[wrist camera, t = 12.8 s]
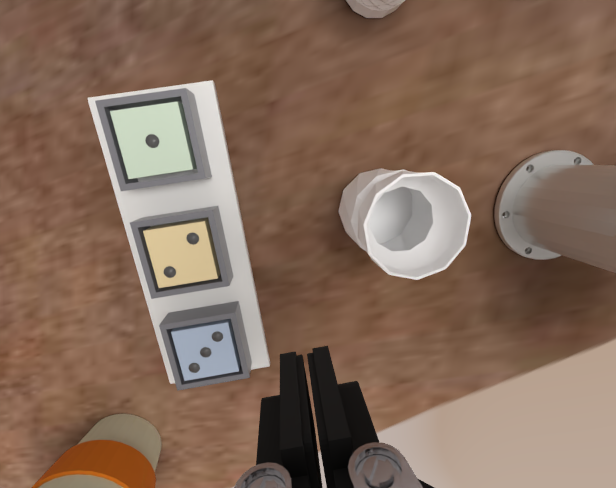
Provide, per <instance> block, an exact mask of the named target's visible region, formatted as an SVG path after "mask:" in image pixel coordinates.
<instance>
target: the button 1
mask: <svg viewBox="0 0 616 488" xmlns="http://www.w3.org/2000/svg"><path fill="white" fill-rule="evenodd" d="M110 114H111V117H112V121H113V124H114V128H115V132H116V135H117V139H118V143H119V146H120V150H121V153H122V157H123V161H124V164H125V168H126V171H127V175H128V179H134V178H141V177H148V176H155V175H161V174H168V173H175V172H181V171H188V170H194V169H197V166H196V161H195V157H194V152H193V148H192V143H191V139H190V134H189V130H188V126H187V121H186V117H185V112H184V108H183V104H181V103H179V102H171V103H164V104H157V105H149V106H142V107H135V108H128V109H121V110H114V111H110Z"/></svg>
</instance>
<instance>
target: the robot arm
mask: <svg viewBox="0 0 616 488" xmlns="http://www.w3.org/2000/svg"><path fill="white" fill-rule="evenodd" d="M494 218H495V224H496V228H497V231H498V234H499V236H500V238H501V239H502V241H503V242H504V244H505V245H506V246H507V247H508V248H509V249H510V250H512V251H514V252H515V253H517V254H519V255H521V256H524V257H527V258H531V259H535V260H547V259H553V258H556V257H559V256H562V255H563V256H566V257H569V258H572V259H575V260H578V261H581V262H584V263H586V264H589V265H592V266H595V267H598V268H601V269H604V270H607V271H610V272H613V273H616V165H594V164H593V163H592V162H591V161H590V160H589V159H587V158H586V157H584V156H583V155H581V154H578V153H576V152H573V151H567V150H552V151H545V152H541V153H538V154H536V155H533V156H531V157H529V158H528V159H526V160H524V161H523V162H522V163H520V164H519V165H518V166H517V167H516V168H514V170H513V171H512V172H511V173H510V174H509V175H508V176H507V178H506V180H505V181H504V183H503V184H502V186H501V188H500V191H499V193H498V196H497V200H496V204H495V216H494ZM307 357H308V364H309V371H310V378H311V386H312V393H313V400H314V407H315V414H316V422H317V429H318V436H319V443H320V449H321V455H322V461H323V466H324V473H325V478H326V484H327V488H434V487H432V486H430V485H428V484H426V483H424V482H423V481H421V480H419V479H417V477H416V475H415V474H414V472H413V470H412V469H411V467H410V466H409V464H408V463H407V461H406V459H405V457H404V456H403V455H402V454H401V453H400V452H399V451H398V450H397V449H396V448H394V447H393V446H391V445H388V444H385V443H379V440H378V437H377V434H376V432H375V429H374V426H373V423H372V420H371V417H370V414H369V412H368V409H367V406H366V403H365V400H364V397H363V395H362V392H361V389H360V386H359V383H358V382H357V381H354V382H349V383H343V384H337V380H336V376H335V373H334V369H333V365H332V361H331V357H330V353H329V349H328V346H324V347H319V348H313V353H309V354H307ZM234 488H322V481H321V473H320V466H319V458H318V450H317V442H316V434H315V427H314V420H313V414H312V409H311V403H310V397H309V391H308V385H307V379H306V373H305V368H304V362H303V356H302V355H298V356H296V352H290V353H284V354H280V395H277V396H271V397H266V398H262V400H261V410H260V423H259V435H258V448H257V461H256V466H254V467H252V468H250V469H249V470H248V471H246V472H245V473H244V474H243V475H242V476H241V477H240V479H239V480H238V481H237V483H236V485H235V487H234Z"/></svg>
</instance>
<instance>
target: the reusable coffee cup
mask: <svg viewBox="0 0 616 488" xmlns="http://www.w3.org/2000/svg"><path fill="white" fill-rule="evenodd" d="M161 444H162V443H161V437H160V435H159V433H158V431H157V430H156V428H155V427H154V426H153V425H152V424H151V423H150V422H148V421H147V420H145V419H143V418H141V417H139V416H135V415H131V414H115V415H111V416H108V417H106V418H103V419H102V420H100V421H99V422H97V423H96V424H95V426H94V427H93V428H92V429H91V430H90V431H89V432H88V433H87V434H86V435H85V436H84V438H83V439H82V440H81V441H80V442H79V443H78V444H77V445H76V446H73V447H72V448H70V449H69V450H67V451H66V452H65V453H64V454H63V455H62V456H61V457H60V458H59V459H58V460H57V461H56V462H55V463H54V464H53V465H52V466H51V468H50V469H49V470H48V471H47V472H46V473H45V474H44V475H43V476H42V477H41V478H40V479H39V480H38V481H37V482H36V483H35V485H34V486H33V487H32V488H155V482H156V478H155V471H156V467H157V463H158V459H159V455H160V451H161Z"/></svg>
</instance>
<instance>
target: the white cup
mask: <svg viewBox="0 0 616 488" xmlns="http://www.w3.org/2000/svg"><path fill="white" fill-rule="evenodd" d="M346 1H347V3H348V4H349V6H350V7H351V8H352V10H353V11H354V12H356V13H358V14H360V15H362V16H364V17H365V18H383V17H385V16H386V15H388V14H390V13H392V12H394V11H395V10H396V9H397V8H398V7H399V6H400V5H401V4H402V3H403V2H404V1H405V0H346Z"/></svg>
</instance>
